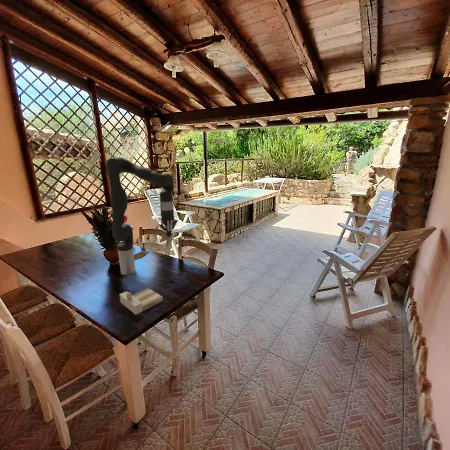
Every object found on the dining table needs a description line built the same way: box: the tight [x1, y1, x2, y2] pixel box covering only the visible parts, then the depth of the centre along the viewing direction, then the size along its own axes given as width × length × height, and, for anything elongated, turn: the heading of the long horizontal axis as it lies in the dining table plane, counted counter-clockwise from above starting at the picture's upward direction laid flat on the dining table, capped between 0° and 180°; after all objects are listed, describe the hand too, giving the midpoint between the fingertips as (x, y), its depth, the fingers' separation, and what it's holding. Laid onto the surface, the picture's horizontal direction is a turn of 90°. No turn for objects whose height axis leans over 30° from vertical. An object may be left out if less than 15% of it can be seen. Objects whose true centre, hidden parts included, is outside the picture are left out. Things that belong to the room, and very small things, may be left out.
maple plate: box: [131, 287, 164, 312], centre depth 137 cm, size 14×12×3 cm
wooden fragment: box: [119, 251, 149, 265], centre depth 193 cm, size 26×11×1 cm, turn 140°
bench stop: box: [119, 291, 144, 316], centre depth 131 cm, size 16×4×8 cm, turn 48°
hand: (169, 236), depth 152 cm, fingers closed
